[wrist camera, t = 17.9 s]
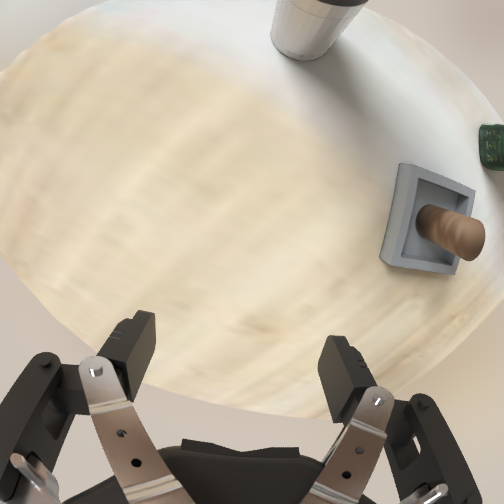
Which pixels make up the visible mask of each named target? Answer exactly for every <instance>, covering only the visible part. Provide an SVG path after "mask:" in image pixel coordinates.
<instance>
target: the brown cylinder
mask: <svg viewBox="0 0 504 504" xmlns="http://www.w3.org/2000/svg"><path fill="white" fill-rule="evenodd" d="M415 226H416V230H417V232H418V234H419V235H420V236H421V237H423V238H425V239H427V240H429V241H431V242H433V243H434V244H436V245H438V246H440V247H442V248H444V249H446V250H448V251H450V252H451V253H453V254H455V255H457V256H459V257H460V258H462V259H464V260H466V261H472V260H474V259H475V258H477V256H478V255H479V254H480V252H481V251H482V248H483V246H484V242H485V229H484V226H483V224H482V223H481V222H480V221H479V220H477V219H474V218H471V217H468V216H465V215H462V214H459V213H456V212H453V211H450V210H447V209H444V208H441V207H438V206H435V205H431V204H427V205H425V206H423V207H422V208H421V209H420V210H419V212H418V214H417V216H416V221H415Z"/></svg>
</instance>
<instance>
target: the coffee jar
mask: <svg viewBox="0 0 504 504" xmlns="http://www.w3.org/2000/svg"><path fill="white" fill-rule="evenodd" d="M479 148H480V158H481V161H482V163H483V165H484V166H485V167H486V168H488V169H491V170H497V171H504V125H500V124H482V125H481V127H480V129H479Z"/></svg>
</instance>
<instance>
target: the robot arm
mask: <svg viewBox="0 0 504 504" xmlns="http://www.w3.org/2000/svg"><path fill="white" fill-rule="evenodd" d="M367 1H368V0H277V5H276V10H275V15H274V19H273V24H272V29H271V39H272V42H273V44H274V45H275V47H276V48H277V49H278V50H279V51H280V52H281V53H283V54H284V55H286V56H288V57H290V58H293V59H296V60H302V61H310V60H315V59H318V58H320V57H321V56H323V55H324V54H325V53H326V52H327V50H328V49H329V48H330V47H331V45H332V44H333V43H334V42H335V41H336V39H337V38H338V37H339V36H340V34H341V33H342V32H343V31H344V29H345V28H346V27H347V26H348V24H349V23H350V22H351V21H352V20H353V18H354V17H355V16H356V15H357V14H358V12H359V11H360V10H361V9H362V7H363V6H364V5H365V4H366V3H367ZM155 345H156V330H155V314H154V313H152V312H147V311H142V310H138V311H137V313H136V314H135V316H134V317H133V319H128V318H126V319H124V320H123V321H121V322H120V323H118V324H117V326H116V327H115V329H114V331H113V332H112V333H111V335H110V337H108V339H107V340H106V342H105V343H104V345H103V346H102V348H101V349H100V351H99V352H98V354H97V355H96V356H91V357H88V358H86V359H84V360H83V361H82V362H81V363H80V365H67V364H61V362H60V359H59V357H58V356H57V355H55V354H53V353H50V352H42V353H39V354H37V355H36V356H34V357H33V358H32V360H31V361H30V362H29V364H28V365H27V366H26V368H25V369H24V370H23V372H22V373H21V374H20V376H19V377H18V379H17V380H16V382H15V383H14V385H13V386H12V387H11V389H10V391H9V392H8V393H7V395H6V397H5V398H4V400H3V401H2V403H1V404H0V504H61V503H60V500H59V497H58V492H59V485H58V482H57V480H56V478H55V477H54V476H53V474H52V472H53V469H54V466H55V464H56V461H57V458H58V456H59V453H60V450H61V448H62V445H63V443H64V440H65V438H66V436H67V433H68V431H69V428H70V426H71V424H72V421H73V419H74V417H75V415H76V414H79V415H91V417H92V420H93V423H94V426H95V429H96V431H97V434H98V437H99V439H100V442H101V444H102V447H103V449H104V452H105V454H106V456H107V459H108V461H109V463H110V465H111V467H112V469H113V472H114V474H115V475H113V476H112V477H110V478H108V479H107V480H105V481H103V482H101V483H99V484H97V485H95V486H94V487H92V488H90V489H88V490H86V491H84V492H82V493H80V494H78V495H76V496H73V497H71V498H70V499H68V500H66V501H64V502H63V503H62V504H376V503H375V502H373V501H372V500H371V499H369V498H368V497H366V496H365V495H364V494H362V493H363V491H364V489H365V487H366V485H367V483H368V481H369V479H370V477H371V475H372V472H373V470H374V468H375V465H376V463H377V461H378V458H379V456H380V453H381V451H382V448H383V446H384V449H385V452H386V455H387V458H388V461H389V464H390V467H391V471H392V474H393V477H394V481H395V484H396V487H397V491H398V494H399V498H400V503H399V504H482V498H481V495H480V492H479V490H478V488H477V485H476V483H475V481H474V478H473V476H472V474H471V471H470V469H469V467H468V465H467V463H466V461H465V458H464V456H463V454H462V452H461V450H460V448H459V446H458V444H457V442H456V440H455V438H454V436H453V434H452V433H451V431H450V429H449V427H448V425H447V423H446V421H445V419H444V418H443V416H442V414H441V412H440V410H439V408H438V407H437V405H436V403H435V402H434V400H433V399H432V398H431V397H429V396H427V395H425V394H421V393H419V394H415V395H413V396H412V398H411V399H410V400H409V401H401V400H395V399H394V397H393V395H392V394H391V393H390V392H389V391H388V390H387V389H385V388H382V387H378V386H377V384H376V382H375V380H374V378H373V376H372V374H371V372H370V370H369V368H367V364H366V363H365V362H364V359H363V357H362V355H361V353H360V352H359V351H358V350H357V349H355V348H354V347H353V346H350V345H349V343H348V341H347V339H346V337H345V336H333V335H329V336H328V337H327V339H326V342H325V345H324V348H323V350H322V353H321V356H320V358H319V361H318V373H319V377H320V380H321V383H322V386H323V390H324V393H325V396H326V399H327V403H328V406H329V409H330V413H331V416H332V420H333V423H343V425H344V427H343V428H342V430H341V432H340V433H339V435H338V437H337V438H336V440H335V442H334V444H333V445H332V447H331V448H330V450H329V451H328V453H327V455H326V456H325V458H324V459H323V461H322V462H319V461H317V460H315V459H313V458H310V457H307V456H304V455H300V453H299V447H293V448H292V447H285V448H284V447H283V448H282V447H281V448H280V447H279V448H278V447H276V448H275V447H271V448H265V449H260V450H253V451H247V452H240V451H236V450H232V449H229V448H226V447H222V446H219V445H216V444H213V443H208V442H200V441H194V440H188V439H182V444H181V446H172V447H166V448H162V449H159V450H156V448H155V446H154V445H153V443H152V441H151V439H150V437H149V436H148V434H147V432H146V430H145V429H144V427H143V425H142V423H141V421H140V419H139V417H138V415H137V413H136V411H135V409H134V407H133V405H132V403H131V402H134V399H135V397H136V394H137V392H138V389H139V387H140V384H141V382H142V380H143V377H144V375H145V372H146V370H147V368H148V365H149V363H150V360H151V358H152V356H153V353H154V350H155ZM415 436H416V437H417V439H418V442H419V444H420V448H421V451H420V454H419V452H418V450H417V448H416V445H415V443H414V440H413V438H414V437H415Z"/></svg>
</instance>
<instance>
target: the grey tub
mask: <svg viewBox="0 0 504 504" xmlns="http://www.w3.org/2000/svg"><path fill="white" fill-rule="evenodd" d="M475 192H476V191H475V190H473V189H471V188H469V187H466V186H464V185H462V184H460V183H458V182H455V181H453V180H451V179H448V178H446V177H443V176H441V175H439V174H436V173H434V172H431V171H429V170H426V169H423V168H421V167H418V166H415V165H412V164H399V168H398V175H397V180H396V186H395V191H394V196H393V201H392V206H391V211H390V216H389V220H388V224H387V229H386V233H385V237H384V241H383V245H382V248H381V252H380V256H379V257H380V258H381V259H382V260H384V261H385V262H386V263H387V264H389V265H390V266H397V267H404V268H411V269H418V270H424V271H431V272H438V273H444V274H451V275H455V272H456V269H457V266H458V263H459V260H460V257H459V256H457V255H455V254H453V253H451V252H450V251H448V250H446V249H444V248H442V247H440V246H438V245H436V244H434V243H433V242H431V241H429V240H427V239H425V238H423V237H421V236H420V235H419V234H418V232H417V230H416V226H415V221H416V216H417V214H418V212H419V210H420V209H421V208H422V207H423V206H425V205H427V204H431V205H435V206H438V207H441V208H444V209H447V210H450V211H453V212H456V213H459V214H462V215H465V216H468V217H471V213H472V208H473V203H474V197H475Z"/></svg>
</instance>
